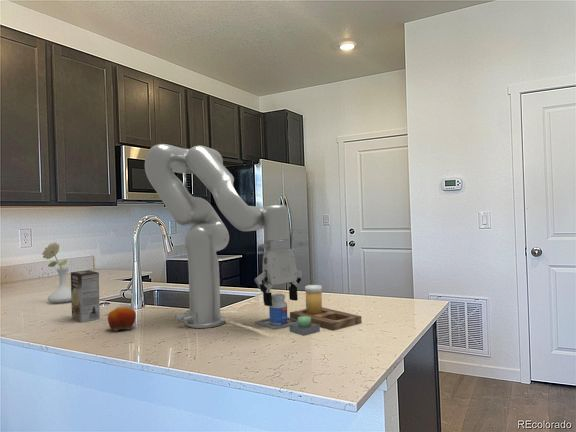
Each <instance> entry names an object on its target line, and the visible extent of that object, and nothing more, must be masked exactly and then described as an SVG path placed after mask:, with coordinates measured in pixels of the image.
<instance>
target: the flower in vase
mask: <svg viewBox="0 0 576 432" xmlns="http://www.w3.org/2000/svg"><path fill="white" fill-rule="evenodd" d="M59 250H60V244H59V243H58V242H51V243H50V244H48V245H47V247H45V248H44V251H43V252H42V258H43V259H46V260H50V259H52V258H53V257H55V260H56V261H55V260H54V261H53V260H52V261H51V262H49V263H48V266H47V267H49V268H51V267H52V268H53V267H55V266H56V265H58V266H59V267H58V268H55V271H56V272H57V273H58V277H59V278H58V279H59V286H58V287H57V288H56V290H54V291H53V292H52V293H51V294H50V295H49V296H48V297H47V301H49V302H51V303H67V302H71V287H70V288H69V286H68V285H67V282H66V281H67V272H68V271H69V269H70V267H62V266H65V265H67V263H68V259H64V260H63V261H58V258H57V254H58V253H59V252H60V251H59Z"/></svg>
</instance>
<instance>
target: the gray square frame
mask: <svg viewBox="0 0 576 432" xmlns="http://www.w3.org/2000/svg"><path fill="white" fill-rule="evenodd" d="M287 321H289V322H290V323H287V324H286V325H282V326H273V325H270V324H268V323H267V322H270V317H268V318H264V319H259V320H255V321H254V323H255V324H256V325H259V326H262V327H265V328H269V329H271V330H274V331H276V330H277V331H278V330H279V329H285V328H290V326H289V325H290V324H294V323H298V320H296V319H292V318H290V316H289V317H288V316H287ZM265 322H266V323H265Z"/></svg>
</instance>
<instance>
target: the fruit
mask: <svg viewBox="0 0 576 432" xmlns="http://www.w3.org/2000/svg"><path fill="white" fill-rule="evenodd" d="M136 317H137V313H136V311H135V309H133V308H132V307H128V306H118V307H116V308H114V309H112V310H111V311H110V312H108V313H107V322H108V325H109V328H110V329H111V330H112V331H115V332H118V331H122V330H129V331H131V329H130V328H132V327H133V325H134V324H135V321H136Z"/></svg>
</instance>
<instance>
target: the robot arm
mask: <svg viewBox="0 0 576 432" xmlns="http://www.w3.org/2000/svg"><path fill="white" fill-rule="evenodd" d="M144 172H145V174H146V175H145V176H146V177H147V179H148V181H149V183H150V185H151V186H152V188H153V189H154V191H156V192H155V193H157V194H158V196H159V198H160V199H161V201H162V203H163V205H164V206H165V208H166V209H167V210H168V212H169V214H170V216H171V217H172V219H173V220H174V221H175V222H176V224H178V225H180V226H185V227H186V226H187V227H189V226H190V228H189V229H188V230H187V232H186V234H185V236H184V245H185V249H186V250H185V251H186V256H187V265H188V267H187V268H188V291H189V292H188V295H189V296H188V297H189V309H186V312H184V313H183V314H177V315H175V316H174V320H175V322H184V325H185V326H186V327H187V328H191V329H192V328H193V329H206V328H213V327H218V326H222V325H224V324H225V323H226V317H225V316H222V315H221V291H220V289H221V288H220V287H221V286H220V285H221V283H220V265H219V258H218V255H217V252H219V251H222V250H224V249H226V247H227V246H228V244H229V241H230V234H229V231H228V229H227V227H226V225H225V223H224V222H223V220H222V219H221V218H220V216H219V215H218V213H217V211H216V210H215V209H214V207H213V206H212V205H211V203H210V202H208V200H206V199H204V198H203V197H199V196H193V195H192V194H191V193H190V192H189V191H188V188H186V187H185V185H184V183H183V181H182V180H180V178H179V177H178V176H177V175H176V174H175V173H178V174H191V175H193V174H194V175H195V176H196V177H197V178H198V179H199V180H200V182H202V184H203V185H204V186H205V187H206V188H207V190H208V191H209V192H211V193H210V194H212V196H213V199H214V202H215V204H216V207H217V208H218V210H219V211H220V213H221V214H222V215H223V216H224V218H225V219H226V220H227V221H228V222H229V223H230V225H232V226H233V227H234V228H236V230H238V231H241V232H253V231H260V230H263V234H264V235H263V237H264V243H262V245H261V246H262V248H263V249H264V250H265V251H263V256H262V273H260V274H259V275H257V277H255V278H254V283H255V284H256V286H257V288H258V289H259V290H260V292H261V293H262V298H263V305H264V306H266V307H269V306H272V295H273V294H272V292H271V290H272V288H273V286H282V285H289V287H288V293H289V300H290V301H298V288H299V286H300V282H301V281H302V276H303V271H302V270H300V269H298V268H297V263H296V257H295V254H294V251H293V249H291V242H290V241H291V240H290V225H289V209H288V207H287V206H286V205H284V204H273V205H267V206H256V205H255V206H254V205H248V204H247V203H246V202H245V200H243V198H242V197H241V196H240V195H239V193H238V192H237V190H236V189H235V186H234V182H235V177H234V176H233V174H232V173H231V172H230V170H228V169H227V168H226V166H225V165H224V159H223V156H222V155H221V153H220V152H219V151H218V150H216V149H214V148H211V147H208V146H204V145H195V146H193V147H191V148H184V147H178V146H175V145H171V144H166V143H158V144H155V145H153V146H151V147H150V149H148V151H147V153H146V156H145V159H144ZM262 281H263V282H262Z"/></svg>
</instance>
